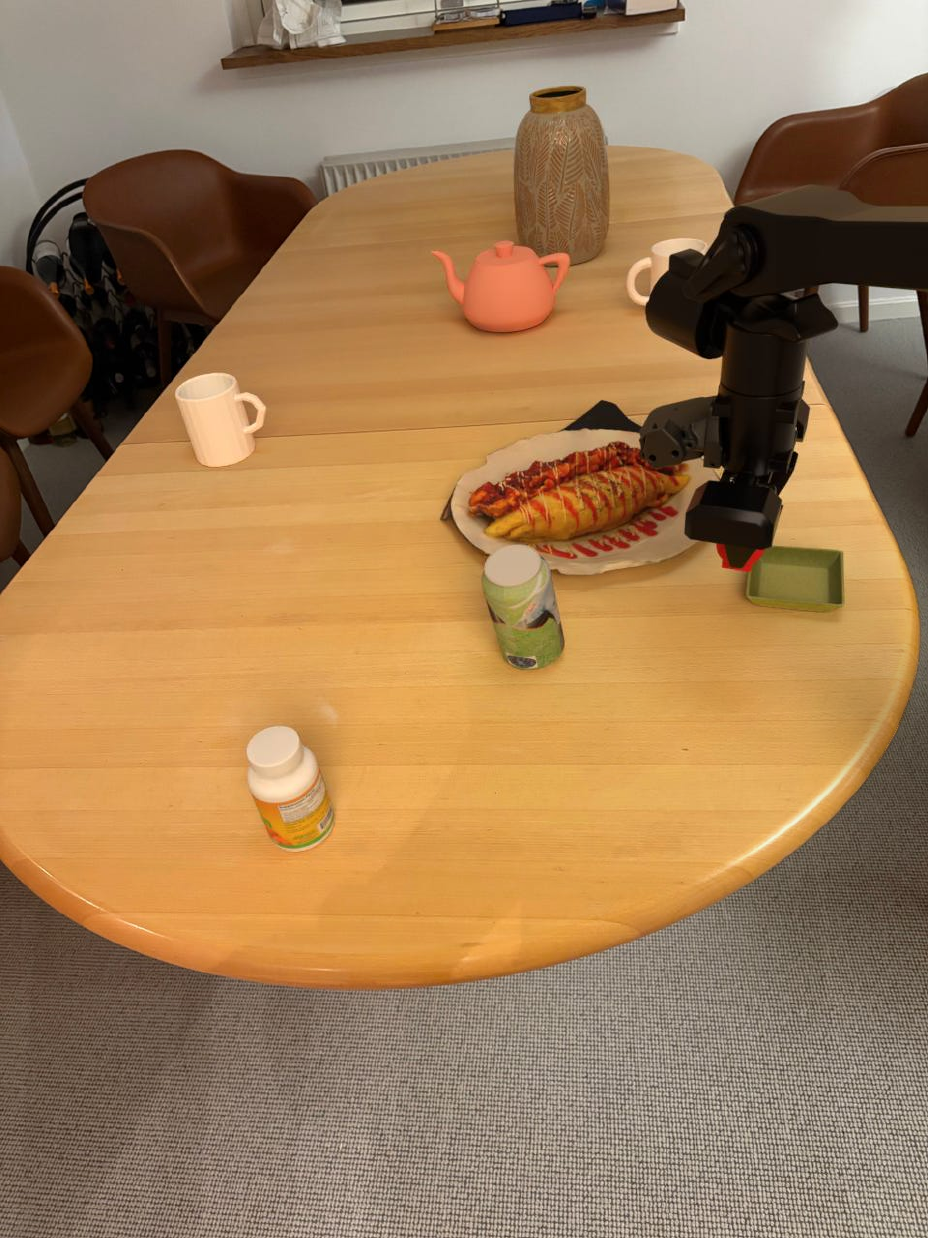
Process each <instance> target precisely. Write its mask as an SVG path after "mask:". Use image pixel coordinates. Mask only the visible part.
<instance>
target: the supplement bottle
mask: <svg viewBox="0 0 928 1238" xmlns="http://www.w3.org/2000/svg"><path fill="white" fill-rule="evenodd" d="M246 758H247V760H248V763H249V766H248V769H247V771H246V772H247V773H246V781H247V786H248V788H249V791H250V794H251V796H252V798H253V801H254V804H255V806H256V808H257V811H258V813H259V815H260V817H261V820H262V822H263V825H264V827H265V829H266V832H267V834H268V836H269V838H270V840H271V842H272V843H273V844H274V845H275V846H276V847H277V848H279V849H280V850H283V851H286V852H292V853H298V852H299V853H300V852H304V851H309V850H310V849H314V848H315V847H317V846H319V845H320V844H321V843H322V842H324V841H325V840H326V838H327V837H328V836H330V834H331V831H332V830H333V828H334V825H335V819H336V815H335V810H334V807H333V803H332V801H331V797H330V795H329V792H328V789H327V786H326V783H325V780H324V777H323V775H322V772H321V768H320V766H319V763H318V760H317V757H316V756H315V754H314V752H313V751H312V750H311V749H310V748H309V747H308V746H306V745H304V744H303V743H302V741H301V738H300V735H299V734H298V733H297V731H296V730H295V729H294V728H291V727H289V726H286V725H273V726H269V727H266V728H263V729H262V730H260V731H258V732H257V733H256V734H255V735H254V736H252V738H250V740H249V741H248V744H247V746H246Z"/></svg>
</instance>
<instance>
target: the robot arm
mask: <svg viewBox="0 0 928 1238" xmlns="http://www.w3.org/2000/svg"><path fill="white" fill-rule="evenodd" d="M719 225H720V226H719V230H718V233H717V236H716V237H715V238H714V240H713V242H712V243H711V245H710V246H709V248H707V252H706V254H705V255H703V254H702V253H701V252H699V251H696V250H694V249H691V248H690V249H687V250H683V251H680V252H677V253H674V254H671V255H670V256H669V270H667V271H666V272H665V273H664V274H663V275H662V276H661V277H660V278H659V280H658V281H657V283H656V284H655V286H654V288H653V290H652V292H651V294H650V293H649V296H650V297H649V301H647V303H646V306H645V309H644V313H645V321H646V323H647V326H648V328H649V330H650V331H651V332H652V333H653V334H655V335H656V336H657V337H660V338H662V339H664V340H666V341H668V342H670V343H672V344H674V345H676V346H678V347H680V348H682V349H683V350H686V351H687V352H690V353H692V354H694V355H696V356H698V357H699V358H702V359H706V360H716V359H720V358H721V369H720V380H719V385H718V387H717V394H715V395H709V396H698V397H693V398H689V399H685V400H681V401H676V402H672V403H669V404H664V405H659V406H657V407H656V408H654V409H652V410H651V411H649V413H648V415H647V417H646V418H645V420H644V422H643V424H642V425H641V426H642V427H641V429H640V431H639V434H640V438H639V443H640V451H639V457H640V458H641V459H642V460H647V463H648V465H649V466H651V467H652V468H655V469H659V468H664V467H669V466H674V465H679V464H681V463H682V462H684V461H689V460H694V459H698V458H700V457H701V458H703V460H704V461H703V467H706V468H712V469H713V470H714V469H715V470H720V469H721V467H722V468H723V471H722V474H721V476H720V481H714V480H708V481H707V482H705V483H704V484H702V485H701V486H699V487H698V488H696V490H695V492H694V495H693V497H692V499H691V502H690V504H689V506H688V509H687V511H686V513H685V529H684V534H685V535H686V536H687V537H688V538H689V539H691V540H697V541H699V542H704V543H712V544H716V543H717V544H724V547H725V551H726V555H727V559H728V563H729V566H730V567H733V568H739V569H742V568H743V567H744V566H745V565H746V563H747V562H748V561H749V559H750V558H751V556H752V555H753V554H754V552H755V551H756V550H764V549H767V548H770V547H772V545H773V544H774V539H775V536H776V534H777V530H778V527H779V523H780V518H781V515H782V512H783V509H784V504H782V503H783V499H782V498H781V497H780V495H781V493H782V491H783V490H784V488H785V486H786V485H787V484H788V482H789V480H790V478H791V476H792V475H793V473H794V472H795V468H796V466H797V462H798V458H799V453H798V452H797V451H795V446H796V444H797V443H804V440H805V437H806V432H807V429H808V424H809V417H810V412H811V407H810V406H809V405H808V403H807V401H805V400H804V399H803V396H804V393H805V387H806V380H804V375H805V369H806V362H807V356H808V355H807V354H808V349H809V342H810V340H813V339H814V338H817V337H819V336H822V335H825V334H828V333H831V332H833V331H836V330H837V329H838V327H839V320H838V319H837V317H836V316H835V314H834V313H833V311H832V310H830V308H828V307H827V306H826V305H825V304H824V303H823V301H822V299H821V296H820V293H818V292H812V293H810V294H807V295H803V296H802V297H797V296H794V295H792V294H788V293H790V292H791V293H792V292H795V291H801V290H804V289H808V288H813V287H817V286H823V285H832V284H836V285H837V284H838V285H846V286H847V285H848V286H859V287H869V288H870V287H871V288H883V289H895V290H904V291H905V290H907V291H917V292H928V205H918V206H917V205H915V206H914V205H911V206H910V205H909V206H908V205H906V206H905V205H902V206H901V205H900V206H899V205H898V206H897V205H896V206H893V205H890V206H888V205H887V206H886V205H885V206H879V205H874V204H870V203H866V202H862V201H861V200H859V199H858V198H857V197H856V196H855V195H854V194H853V193H851V192H850V191H847V190H841V189H837V188H832V187H828V186H823V185H819V184H813V183H811V184H807V185H802V186H799V187H795V188H791V189H789V190H786V191H783V192H780V193H776V194H773V195H769V196H766V197H763V198H759V199H756V200H753V201H749V202H745V203H742V204H740V205H736V206H732V207H731V208H729V209H727V210H726V211H725V212H724V214H723V219H722V221H721V223H720V224H719Z"/></svg>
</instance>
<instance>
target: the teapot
mask: <svg viewBox="0 0 928 1238" xmlns="http://www.w3.org/2000/svg"><path fill="white" fill-rule="evenodd" d="M514 244H515V243H514V241H511V240H500V241H497V242H495V243H494V244H493V248H489V249H486V250H484V251H482V252H480V253H479V254H478V255H477V256H476V257H475V259H474V261H473V263H472V265H471V267H470V270H469V272H468V274H467V277H466V279H465V282H464V281H462V280H461V279H459V276H458V275H457V273H456V268H455V264H454V261H453V259H452V258H451V256H450V255H449V254H447V253H446V252H442V251H438V250H430V251H429V252H430V254H432V255H434V256H435V257H436V258H437V259H438V260H439V261H440V263H441V264H442V266H443V271H444V274H445V281H446V286H447V290H448V293H449V295H450V296H451V298H452V299H453V300H454V301H455V303H457V304H459V305H460V306H462V313H463V315H464V318H465V319H466V320H467V321H468V322H469V323H470V324H472V325H473V327H475V328H476V329H479V330H480V331H485V332H489V333H490V332H492V333H509V332H511V333H512V332H518V331H524V330H527V329H530V328H534V327H536V326H538V325H540V324H542V323H543V322H544V321H545V320H547V317H548V316H549V315H550V314H551V312H552V311H553V310H554V309H553V308H554V307H555V303H556V293H557V292H558V291H559V289H560V287H561V286H562V284H563V282H564V280H565V278H566V276H567V275H568V272H569V270H570V266H571V265H570V257H569V255H568V254H566V253H555V254H551V255H547V256H544V257H542V258H539V257H538V256H537V255H536V253H535V252H534V251H533V250H532V249H530V248H528V247H523V246H521V245H514ZM551 262H556V263H557V264H558V266H557V272H556V276H555V278H554V279H555V280H554V282H553V281H552V278H551V275H550V273H549V271H548V270H547V268H546V266H544V264H547V263H551Z"/></svg>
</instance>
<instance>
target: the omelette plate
mask: <svg viewBox="0 0 928 1238" xmlns="http://www.w3.org/2000/svg"><path fill="white" fill-rule="evenodd" d="M641 427H642V425H640V424H638V423H636V422H635V421H633V420H632V419H630V418H629V417H628V416H627V415H626V414H625V413H624V412H623V411H622V410H621V408H620V407H619V406H618V405H617V404H616V403H614V402H611V401H608V400H605V399H600V401H598V402H597V403H595V404H594V405H593V406H592V407H591V408H590V409H589V410H587V411H586V412H584V413H583V414H582V415H580V416H579V417H578V418H577V419H575V420H574V421H572V422H571V423H569V424H568V425H567V426H565V427H564V428H562V429H560V430H559V431H556V432H549V433H543V434H537V435H534V436H532V437H530V438H526V437H525V438H521V439H519V440H517V441H515V442H512V443H511V444H508V445H506V446H504V447H502V448H499V449H497V450H495V451H493V452H491V453H488V454H487V455H486V456H485V460H486V461H487V463H485V464H483V465H482V466H480V467H478V468H474V469H470V470H467V471H465V472H464V474H462V475H461V477H460V478H459V479H458V481H457V483H456V484H455V486H454V488H453V490H452V491H451V495H450V496H449V498H448V500H447V503H446V504H445V507H444V509H443V510H442V513H441V515H440V518H439V520H444V519H447V518H448V517H450V516H451V518H452V521H453V523H454V525H455V527H456V529H457V530H458V531H459V533H460V534H461V535H462V537H464V539H465V540H466V541H467V542H468V543H469V544H470V545H471V546H472V547H474V548H476V549H478V550H481V551H482V552H483V553H484V554H487V555H489V556H490V555H491V554H493V553H494V552H495V551H497V550H498V549H501V548H503V547H506V546H510V545H526V546H529V547H531V548H533V549H535V550H536V551H537V552H538V553H539V555H540V556H541V557H543V558H544V559H545V561H546V562H547V564H548V566H549V568H550V571H551V570H552V571H553V570H557V571H558V572H559V573H560V574H561V575H567V576H568V575H569V576H594V575H597V574H602V573H604V572H608V571H614V570H621V569H626V568H633V567H639V566H646V565H647V566H648V565H652V564H657V563H658V564H659V563H661V562H664V561H667V560H669V559H670V560H671V559H674V558H676V557H678V556H680V555H682V554H683V553H684V552H685V551H687V550H688V549H689V548H691V547H693V546H694V545H697V544H698V543H700V541H697V540H691V539H689V538H688V537H687V536H686V535H685V534H684V529H685V513H686V511H687V509H688V506H689V504H690V502H691V499H692V497H693V495H694V492H695V490H696V488H698V487H699V486H701V485H702V484H704V483H705V482H707V481H708V480H714V481H720V479H721V477H720V476H719V475H718V473H717V472H716V471H715V470H714V468H706V467H703V461H704V458H703V457H700V458H698V459H694V460H689V461H684V462H682V463H681V464H679V465H674V466H669V467H664V468H659V469H655V468H652V467H651V466H649V465H648V463H647V460H642V459H641V458H640V457H639V451H640V443H639V438H640V434H639V431H640V429H641Z"/></svg>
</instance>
